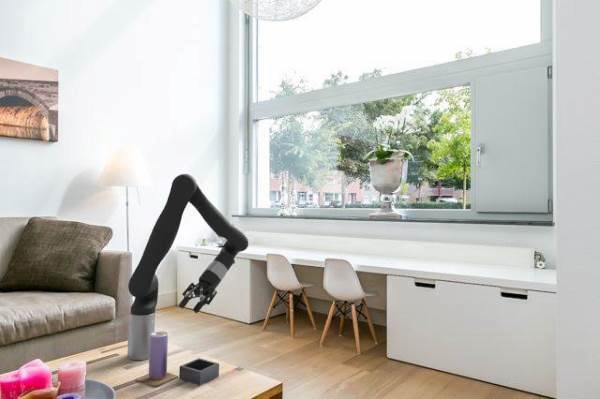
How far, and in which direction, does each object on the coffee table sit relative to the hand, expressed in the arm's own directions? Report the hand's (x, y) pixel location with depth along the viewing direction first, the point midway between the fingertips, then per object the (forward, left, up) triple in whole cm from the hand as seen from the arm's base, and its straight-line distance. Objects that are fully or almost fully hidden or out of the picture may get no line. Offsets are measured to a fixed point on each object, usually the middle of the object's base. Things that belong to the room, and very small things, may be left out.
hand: (187, 309), depth 160 cm
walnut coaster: (-2, -11, -22) cm, 25 cm away
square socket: (+9, -2, -22) cm, 24 cm away
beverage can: (-2, -11, -22) cm, 25 cm away
